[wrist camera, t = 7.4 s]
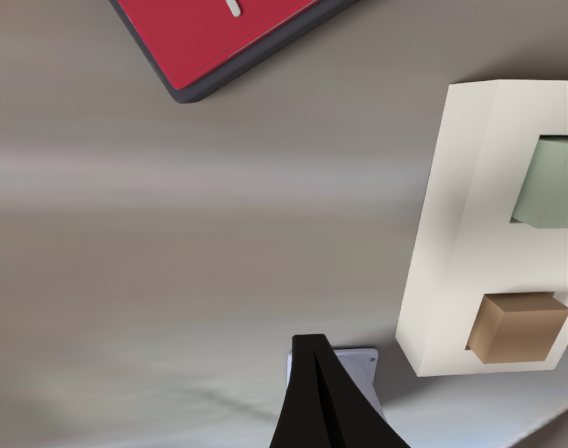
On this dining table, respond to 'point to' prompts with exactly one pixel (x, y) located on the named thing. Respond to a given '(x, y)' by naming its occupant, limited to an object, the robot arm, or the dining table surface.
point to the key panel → (482, 225)
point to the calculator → (216, 36)
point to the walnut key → (516, 327)
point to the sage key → (545, 186)
